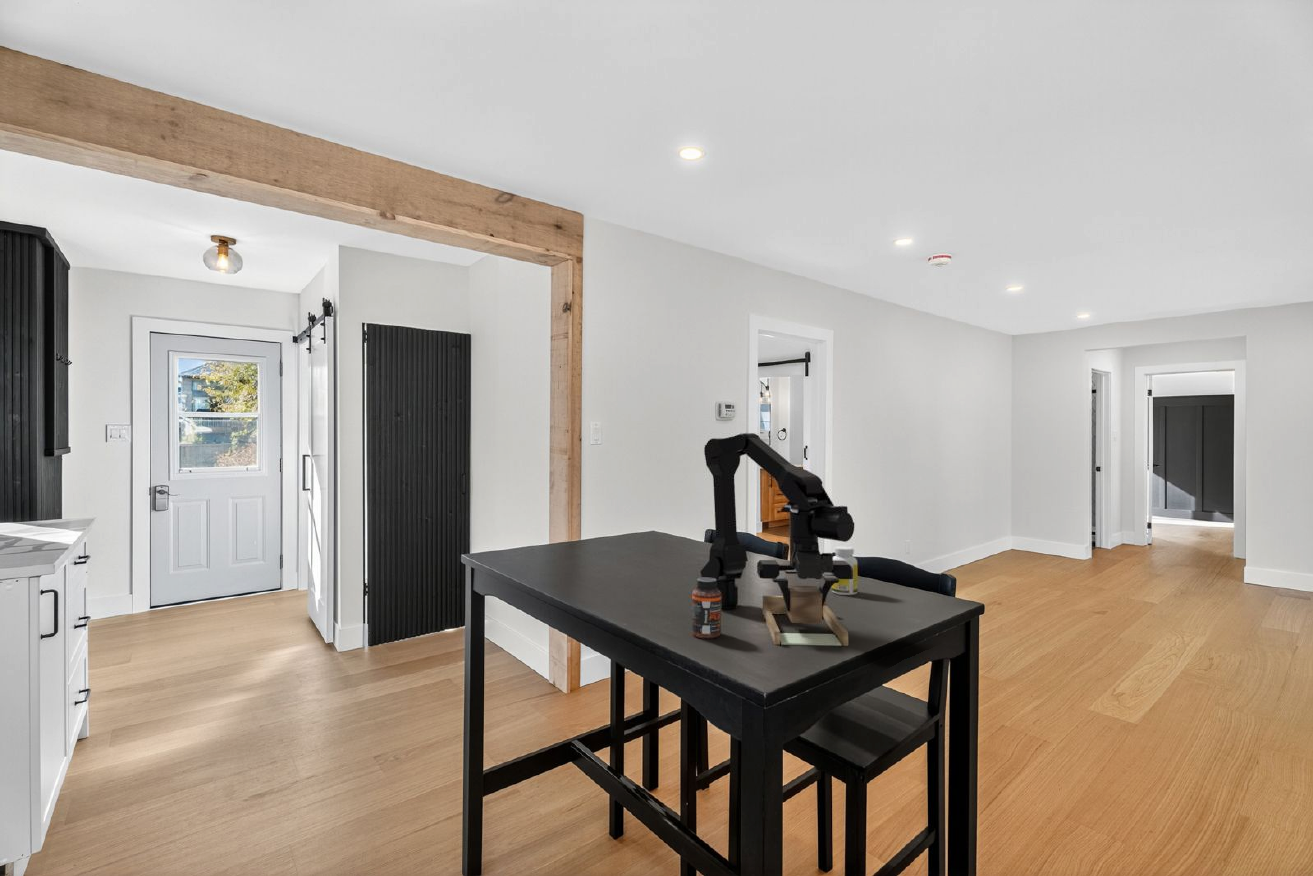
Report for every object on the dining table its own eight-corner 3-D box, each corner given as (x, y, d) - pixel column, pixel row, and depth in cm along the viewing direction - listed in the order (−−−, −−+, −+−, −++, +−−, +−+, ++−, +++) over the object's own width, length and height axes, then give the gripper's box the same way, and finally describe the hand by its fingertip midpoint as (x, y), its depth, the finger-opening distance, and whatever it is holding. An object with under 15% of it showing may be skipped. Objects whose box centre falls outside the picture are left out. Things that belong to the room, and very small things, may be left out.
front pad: (781, 644, 120) (781, 642, 120) (777, 634, 126) (777, 633, 126) (841, 645, 119) (841, 644, 119) (834, 635, 125) (834, 634, 125)
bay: (774, 644, 120) (774, 623, 120) (762, 613, 141) (762, 595, 141) (848, 645, 119) (848, 624, 119) (825, 614, 140) (825, 596, 140)
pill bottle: (854, 590, 162) (854, 545, 162) (860, 596, 156) (860, 550, 156) (829, 589, 163) (829, 545, 163) (833, 595, 156) (833, 549, 156)
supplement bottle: (713, 641, 121) (713, 584, 121) (686, 636, 125) (686, 580, 125) (726, 633, 126) (726, 578, 126) (700, 628, 130) (700, 574, 130)
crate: (791, 622, 125) (791, 593, 125) (786, 614, 131) (786, 585, 131) (822, 623, 124) (822, 593, 125) (816, 614, 131) (816, 586, 131)
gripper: (762, 541, 120) (763, 622, 120) (860, 542, 119) (860, 623, 119) (756, 533, 131) (756, 606, 131) (845, 533, 130) (846, 607, 130)
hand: (804, 611), depth 128 cm, fingers closed on crate, 6 cm apart
